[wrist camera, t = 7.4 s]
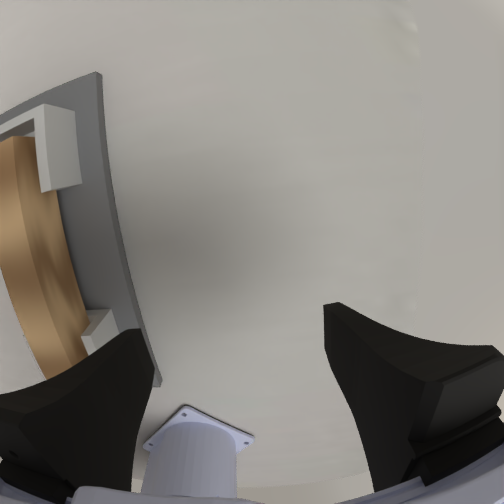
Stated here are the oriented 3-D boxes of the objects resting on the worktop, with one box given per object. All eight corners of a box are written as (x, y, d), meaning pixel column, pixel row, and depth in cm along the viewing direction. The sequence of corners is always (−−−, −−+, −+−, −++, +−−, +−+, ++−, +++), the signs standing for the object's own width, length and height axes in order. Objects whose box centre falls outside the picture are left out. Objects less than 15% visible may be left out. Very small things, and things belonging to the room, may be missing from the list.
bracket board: (162, 379, 23) (150, 419, 18) (68, 377, 23) (48, 409, 18) (102, 74, 16) (68, 56, 11) (3, 118, 16) (-35, 115, 11)
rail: (102, 355, 20) (82, 388, 16) (70, 354, 20) (49, 384, 16) (49, 137, 15) (12, 136, 11) (17, 151, 15) (-20, 153, 11)
